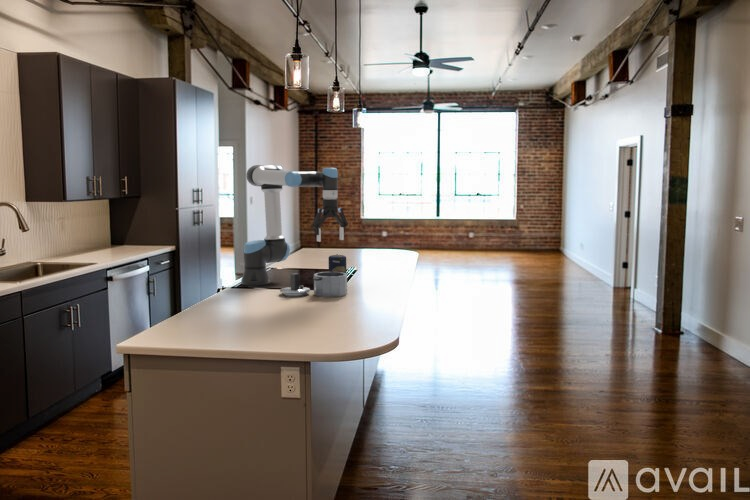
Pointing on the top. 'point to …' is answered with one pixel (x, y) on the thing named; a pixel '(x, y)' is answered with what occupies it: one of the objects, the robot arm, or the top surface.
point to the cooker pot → (330, 284)
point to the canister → (337, 263)
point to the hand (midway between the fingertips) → (330, 240)
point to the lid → (295, 287)
